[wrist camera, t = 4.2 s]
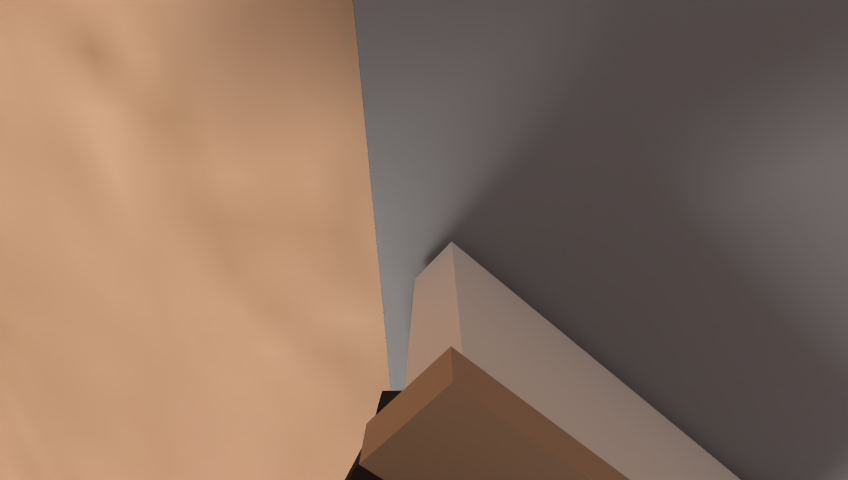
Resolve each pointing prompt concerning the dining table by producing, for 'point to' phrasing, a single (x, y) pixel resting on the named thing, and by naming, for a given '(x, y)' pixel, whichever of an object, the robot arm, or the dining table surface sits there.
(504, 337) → the gate
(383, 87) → the grey plate with bar
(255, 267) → the dining table surface
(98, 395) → the dining table surface
